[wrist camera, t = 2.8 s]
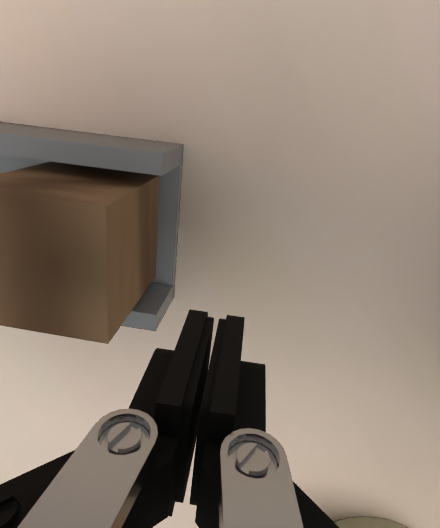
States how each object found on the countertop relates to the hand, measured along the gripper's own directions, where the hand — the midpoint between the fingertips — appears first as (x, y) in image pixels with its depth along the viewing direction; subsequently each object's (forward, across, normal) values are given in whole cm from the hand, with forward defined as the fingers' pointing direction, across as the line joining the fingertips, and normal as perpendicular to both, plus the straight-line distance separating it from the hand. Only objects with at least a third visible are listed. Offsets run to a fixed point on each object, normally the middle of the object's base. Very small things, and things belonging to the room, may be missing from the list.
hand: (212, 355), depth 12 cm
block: (+11, +8, 0) cm, 13 cm away
